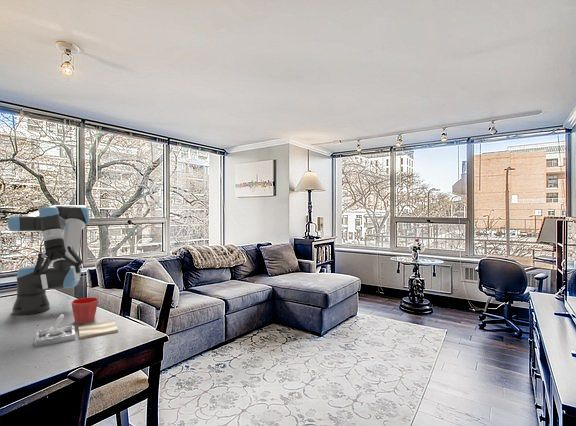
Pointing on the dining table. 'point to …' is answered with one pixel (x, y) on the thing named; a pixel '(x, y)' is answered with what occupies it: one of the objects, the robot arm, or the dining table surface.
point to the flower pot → (84, 309)
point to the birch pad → (97, 329)
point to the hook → (56, 328)
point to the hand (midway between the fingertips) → (61, 284)
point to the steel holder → (54, 339)
